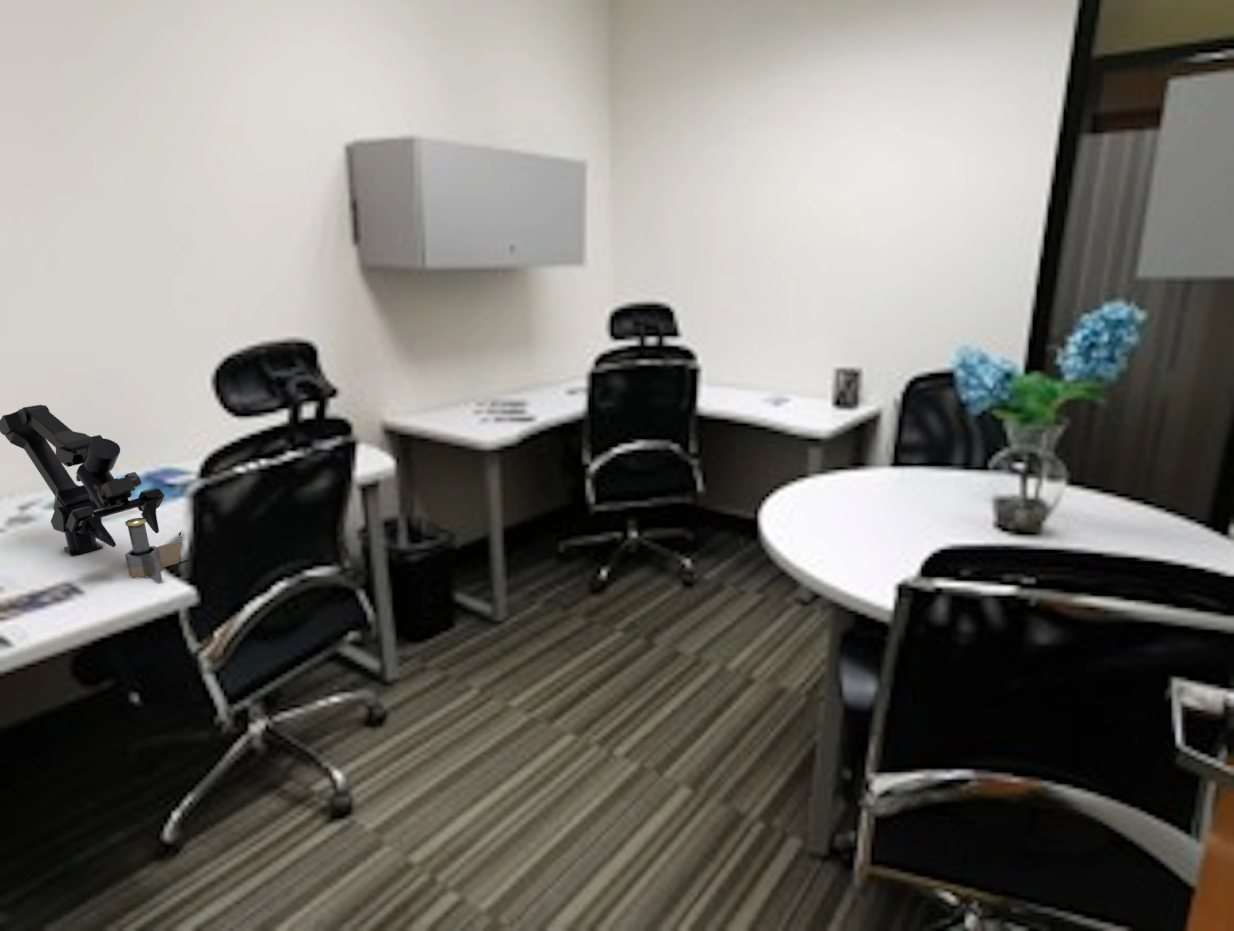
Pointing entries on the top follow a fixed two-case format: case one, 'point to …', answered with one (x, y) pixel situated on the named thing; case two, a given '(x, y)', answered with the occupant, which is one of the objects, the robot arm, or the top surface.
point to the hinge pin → (138, 536)
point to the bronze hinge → (153, 560)
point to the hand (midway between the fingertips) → (136, 539)
